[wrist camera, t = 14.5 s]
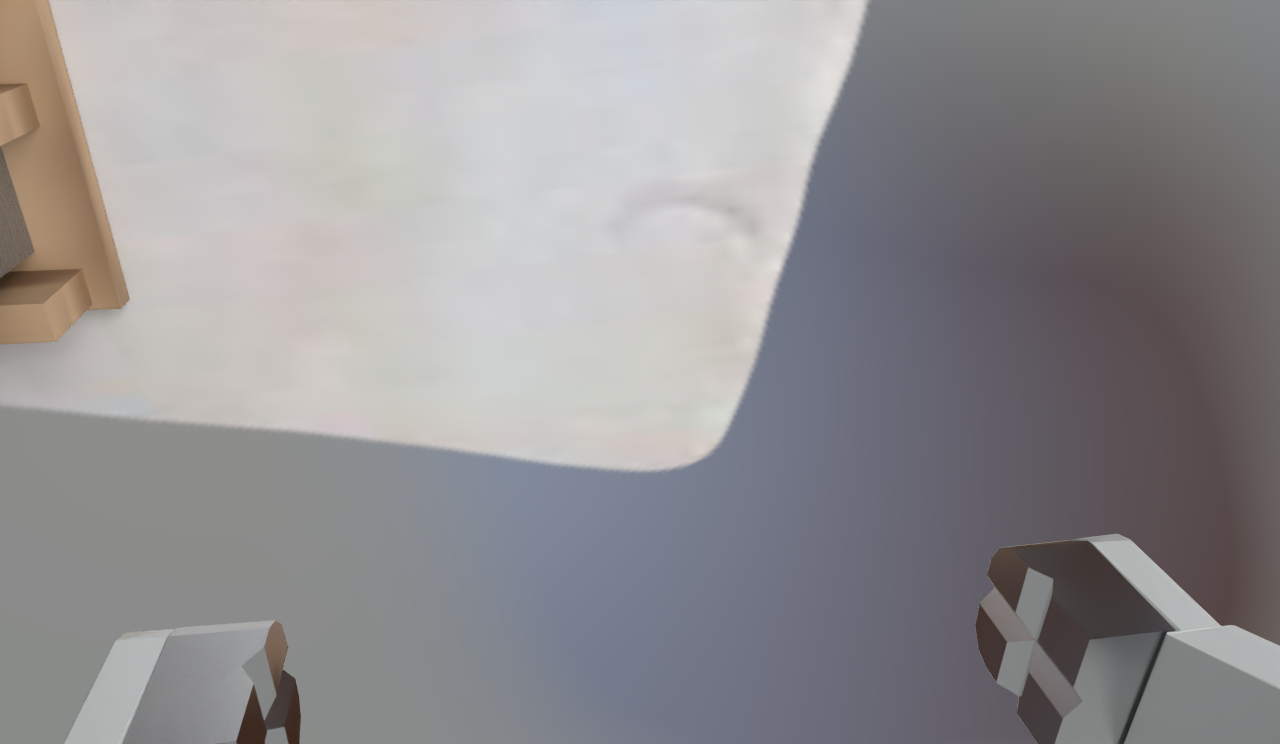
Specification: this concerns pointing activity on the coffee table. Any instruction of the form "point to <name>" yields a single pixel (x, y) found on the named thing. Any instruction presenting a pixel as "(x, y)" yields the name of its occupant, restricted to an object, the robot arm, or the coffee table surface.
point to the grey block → (11, 224)
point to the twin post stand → (50, 187)
